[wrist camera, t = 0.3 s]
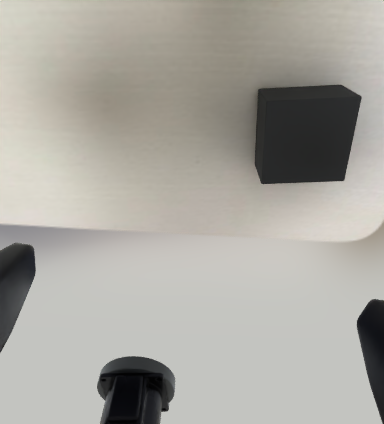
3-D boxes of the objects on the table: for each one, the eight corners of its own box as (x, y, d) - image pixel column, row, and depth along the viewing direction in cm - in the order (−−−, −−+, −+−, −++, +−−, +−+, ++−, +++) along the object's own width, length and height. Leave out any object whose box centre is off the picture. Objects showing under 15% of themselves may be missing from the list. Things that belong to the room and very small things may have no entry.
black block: (328, 161, 23) (344, 181, 20) (254, 164, 23) (261, 184, 21) (341, 84, 20) (362, 96, 18) (258, 88, 20) (266, 101, 18)
